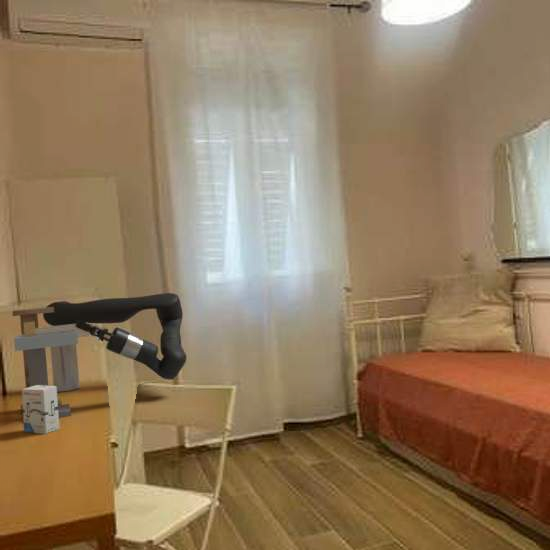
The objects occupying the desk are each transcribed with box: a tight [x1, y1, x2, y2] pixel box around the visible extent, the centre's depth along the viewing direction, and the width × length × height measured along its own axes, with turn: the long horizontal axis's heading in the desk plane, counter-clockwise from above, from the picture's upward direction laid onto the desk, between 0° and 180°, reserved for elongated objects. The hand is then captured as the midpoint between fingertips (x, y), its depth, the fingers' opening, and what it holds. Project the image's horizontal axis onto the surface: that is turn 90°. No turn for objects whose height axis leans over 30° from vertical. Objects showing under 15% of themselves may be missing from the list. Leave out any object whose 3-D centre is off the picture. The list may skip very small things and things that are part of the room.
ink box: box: [21, 385, 60, 435], centre depth 158 cm, size 9×5×12 cm, turn 62°
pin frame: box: [13, 332, 79, 419], centre depth 178 cm, size 14×17×24 cm
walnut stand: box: [12, 307, 63, 415], centre depth 189 cm, size 9×12×32 cm
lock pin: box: [24, 321, 90, 339], centre depth 179 cm, size 6×18×6 cm, turn 112°
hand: (76, 322), depth 181 cm, fingers open, 8 cm apart
